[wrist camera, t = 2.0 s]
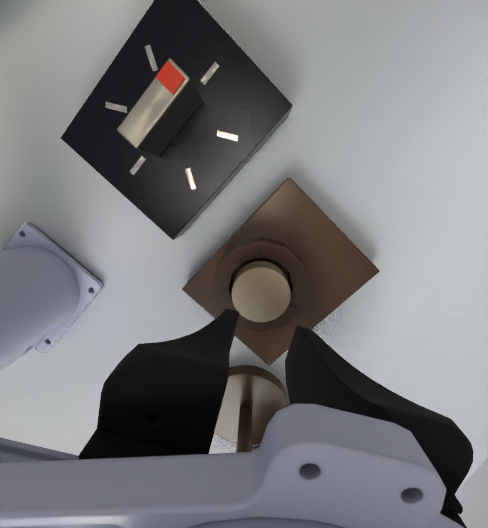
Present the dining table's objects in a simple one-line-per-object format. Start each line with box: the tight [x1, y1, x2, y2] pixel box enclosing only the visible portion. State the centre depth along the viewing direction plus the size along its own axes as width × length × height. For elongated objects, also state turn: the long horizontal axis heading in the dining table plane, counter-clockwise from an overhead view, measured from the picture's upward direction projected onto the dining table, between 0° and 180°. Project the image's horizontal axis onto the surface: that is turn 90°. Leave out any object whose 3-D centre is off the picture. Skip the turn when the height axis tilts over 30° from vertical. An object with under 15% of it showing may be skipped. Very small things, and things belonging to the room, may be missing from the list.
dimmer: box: [61, 0, 292, 239], centre depth 18 cm, size 12×10×3 cm
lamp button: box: [232, 261, 291, 322], centre depth 19 cm, size 4×4×2 cm
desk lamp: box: [214, 366, 289, 453], centre depth 18 cm, size 8×8×15 cm
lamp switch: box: [183, 178, 379, 365], centre depth 21 cm, size 12×10×3 cm
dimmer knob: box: [117, 58, 203, 156], centre depth 16 cm, size 5×1×4 cm, turn 136°
